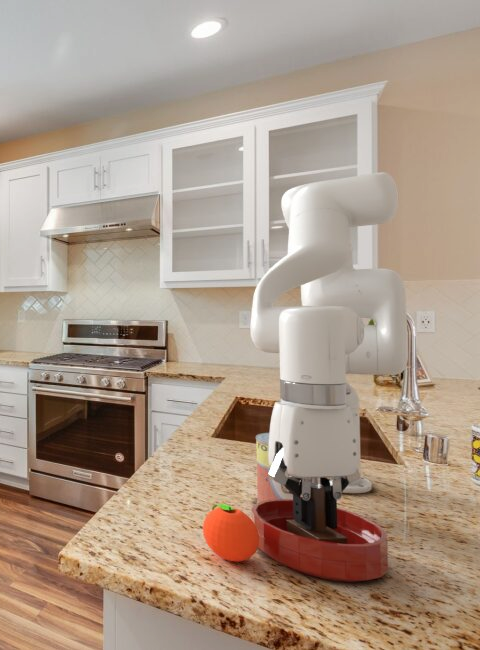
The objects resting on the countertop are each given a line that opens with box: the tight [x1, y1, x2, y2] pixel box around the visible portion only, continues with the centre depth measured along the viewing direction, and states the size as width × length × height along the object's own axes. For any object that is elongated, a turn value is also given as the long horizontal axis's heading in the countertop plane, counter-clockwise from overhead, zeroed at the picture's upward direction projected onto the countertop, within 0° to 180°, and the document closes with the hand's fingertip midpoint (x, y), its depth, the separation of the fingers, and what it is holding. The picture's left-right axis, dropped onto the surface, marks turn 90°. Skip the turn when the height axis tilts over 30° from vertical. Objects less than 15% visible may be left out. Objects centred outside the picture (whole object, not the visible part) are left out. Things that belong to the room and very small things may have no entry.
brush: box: [287, 483, 347, 544], centre depth 67 cm, size 6×4×9 cm, turn 3°
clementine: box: [202, 503, 259, 562], centre depth 67 cm, size 8×7×7 cm
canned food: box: [255, 432, 329, 503], centre depth 82 cm, size 11×11×12 cm
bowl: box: [251, 499, 389, 583], centre depth 67 cm, size 15×15×5 cm
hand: (315, 523), depth 67 cm, fingers closed on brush, 2 cm apart
